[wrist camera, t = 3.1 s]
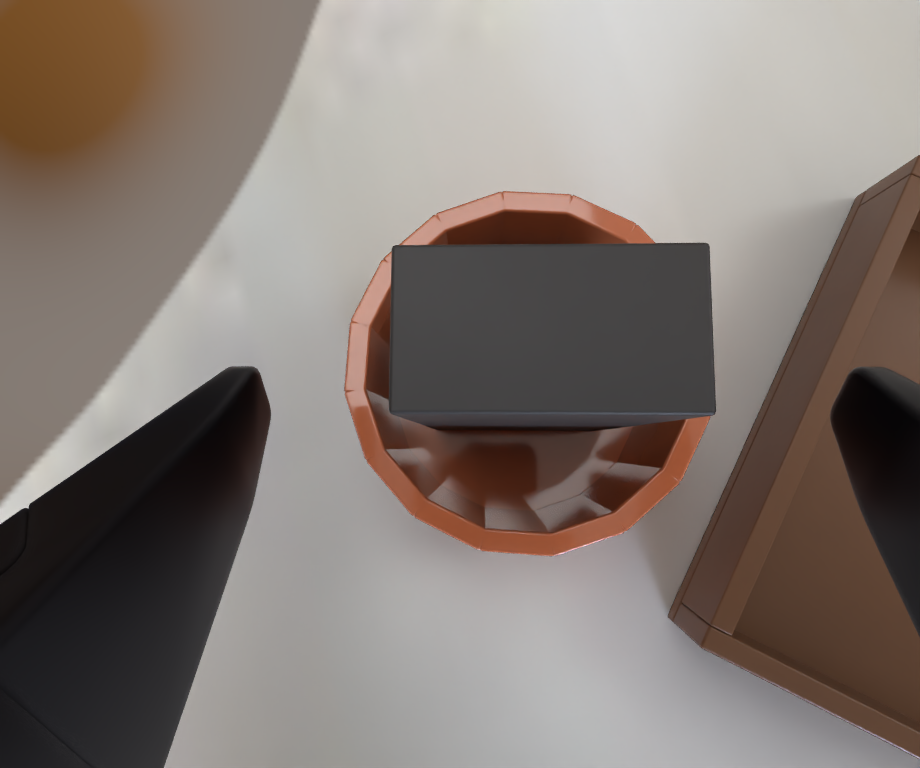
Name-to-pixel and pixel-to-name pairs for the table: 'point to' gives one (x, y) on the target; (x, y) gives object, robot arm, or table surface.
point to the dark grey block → (551, 335)
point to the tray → (821, 498)
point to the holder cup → (509, 451)
